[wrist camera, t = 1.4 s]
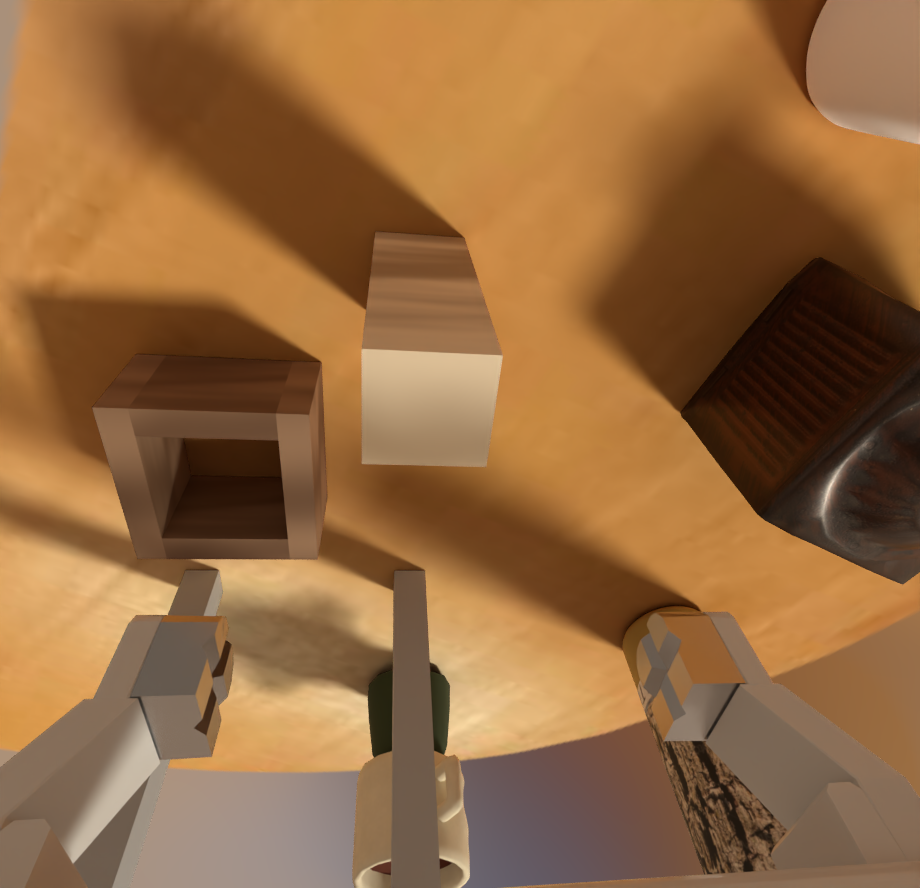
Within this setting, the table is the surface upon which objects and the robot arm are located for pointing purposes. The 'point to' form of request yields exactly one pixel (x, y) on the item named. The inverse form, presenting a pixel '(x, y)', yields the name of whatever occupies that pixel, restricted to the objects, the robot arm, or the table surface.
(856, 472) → the manual coffee grinder
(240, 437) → the socket
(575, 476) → the table surface
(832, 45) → the can
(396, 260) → the peg
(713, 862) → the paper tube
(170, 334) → the table surface
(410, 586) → the u-shaped bar frame
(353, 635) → the table surface
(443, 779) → the character mug
